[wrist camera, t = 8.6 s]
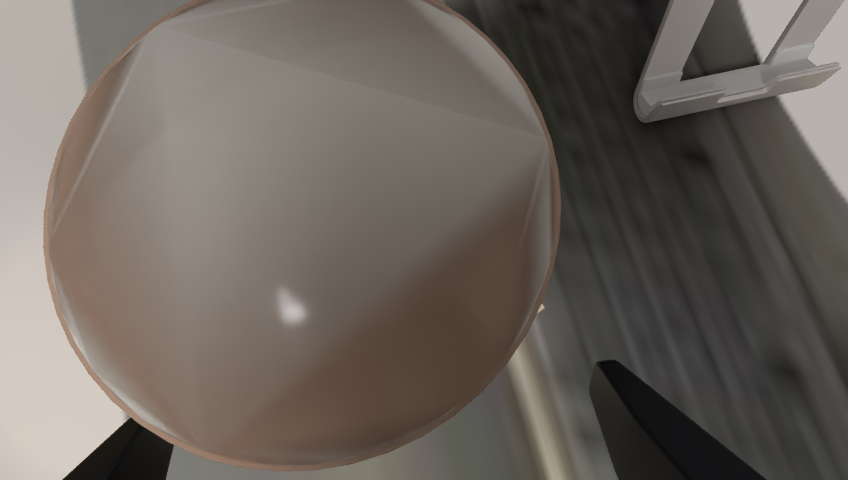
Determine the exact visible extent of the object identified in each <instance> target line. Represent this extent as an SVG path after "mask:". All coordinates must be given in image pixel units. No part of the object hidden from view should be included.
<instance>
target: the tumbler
mask: <svg viewBox="0 0 848 480" xmlns="http://www.w3.org/2000/svg"><path fill="white" fill-rule="evenodd" d="M560 218H561V195H560V183H559V171H558V167H557V162H556V158H555V153H554V149H553V144H552V140H551V137H550V134H549V132H548V129H547V126H546V124H545V121H544V118H543V116H542V113H541V110H540V109H539V107H538V105H537V103H536V101H535V99H534V97H533V95H532V93H531V92H530V90H529V88H528V86H527V84H526V83H525V81H524V80H523V78H522V77H521V76H520V74H519V73H518V71H517V70H516V69H515V67H514V66H513V64H512V63H511V62H510V60H509V59H508V58H507V57H506V56H505V55H504V53H503V52H502V51H501V50H500V49H499V48H498V47H497V46H496V45H495V44H494V43H493V42H492V41H491V39H490V38H489V37H488V36H486V35H485V34H484V33H483V32H482V31H480V30H479V29H478V28H477V27H476V26H474V25H473V24H472V23H471V22H470V21H468V20H467V19H466V18H465V17H463V16H461V15H460V14H458V13H457V12H455V11H454V10H452V9H451V8H449V7H447V6H446V5H444V4H443V3H441V2H439V1H437V0H192V1H190V2H188V3H186V4H184V5H182V6H180V7H178V8H177V9H175V10H174V11H172V12H171V13H169V14H168V15H166V16H165V17H163V18H161V19H160V20H158V21H157V22H155V23H154V24H152V25H151V26H150V27H149V28H147V29H146V30H145V31H144V32H143V33H141V34H140V35H139V36H138V37H137V38H135V39H134V40H133V41H132V42H131V43H129V44H128V45H127V46H126V47H125V48H124V49H123V50H122V51H121V52H120V53H119V55H118V56H117V57H116V58H115V59H114V60H113V61H112V62H111V63H110V64H109V65H108V66H107V67H106V68H105V70H104V71H103V72H102V74H101V75H100V76H99V77H98V79H97V80H96V81H95V83H94V84H93V85H92V87H91V88H90V89H89V91H88V92H87V93H86V95H85V97H84V99H83V100H82V102H81V104H80V106H79V107H78V109H77V111H76V112H75V114H74V116H73V118H72V119H71V121H70V123H69V125H68V128H67V130H66V133H65V135H64V137H63V140H62V142H61V144H60V147H59V149H58V152H57V156H56V158H55V162H54V166H53V169H52V172H51V176H50V179H49V184H48V190H47V198H46V204H45V210H44V245H43V248H44V256H45V264H46V271H47V279H48V284H49V288H50V291H51V295H52V299H53V302H54V306H55V310H56V312H57V315H58V318H59V320H60V322H61V325H62V327H63V329H64V331H65V334H66V336H67V338H68V341H69V343H70V345H71V347H72V348H73V350H74V351H75V353H76V355H77V356H78V358H79V359H80V361H81V362H82V364H83V366H84V367H85V369H86V370H87V372H88V374H89V375H90V376H91V377H92V378H93V379H94V381H95V382H96V383H97V384H98V385H99V386H100V388H101V389H102V390H103V391H104V392H105V393H106V395H107V396H108V397H109V398H110V399H111V400H112V401H113V402H114V403H115V404H116V405H118V406H119V407H120V408H121V409H122V410H123V411H125V412H126V413H127V414H128V415H129V416H130V417H132V418H133V419H134V420H135V421H136V422H137V423H139V424H140V425H142V426H143V427H145V428H147V429H148V430H150V431H151V432H153V433H155V434H156V435H158V436H159V437H161V438H162V439H164V440H166V441H167V442H169V443H171V444H173V445H176V446H178V447H180V448H183V449H185V450H187V451H189V452H192V453H194V454H196V455H199V456H201V457H204V458H207V459H211V460H215V461H219V462H222V463H226V464H230V465H233V466H237V467H244V468H252V469H260V470H269V471H310V470H319V469H325V468H331V467H337V466H343V465H349V464H353V463H357V462H360V461H363V460H366V459H369V458H373V457H376V456H379V455H382V454H385V453H388V452H390V451H393V450H395V449H397V448H399V447H401V446H403V445H405V444H407V443H410V442H412V441H414V440H416V439H418V438H420V437H422V436H424V435H425V434H427V433H428V432H430V431H432V430H433V429H435V428H436V427H438V426H439V425H441V424H442V423H444V422H445V421H447V420H448V419H450V418H452V417H453V416H454V415H456V414H457V413H458V412H459V411H460V410H461V409H463V408H464V407H465V406H466V405H467V404H468V403H470V402H471V401H472V400H473V399H474V398H475V397H477V396H478V395H479V394H480V393H481V392H482V391H483V390H484V389H485V388H486V387H487V386H488V385H489V383H490V382H491V381H492V380H493V379H494V378H495V377H496V375H497V374H498V373H499V372H500V371H501V370H502V369H503V368H504V366H505V365H506V364H507V363H508V361H509V360H510V358H511V357H512V355H513V354H514V352H515V351H516V349H517V348H518V346H519V345H520V343H521V342H522V340H523V339H524V337H525V336H526V334H527V333H528V331H529V329H530V326H531V324H532V322H533V320H534V318H535V316H536V314H537V312H538V310H539V308H540V306H541V304H542V302H543V299H544V296H545V293H546V290H547V287H548V284H549V281H550V278H551V275H552V272H553V268H554V263H555V258H556V253H557V247H558V242H559V237H560Z"/></svg>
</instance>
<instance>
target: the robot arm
mask: <svg viewBox="0 0 848 480" xmlns="http://www.w3.org/2000/svg"><path fill="white" fill-rule="evenodd" d="M589 392H590V397H591V400H592V403H593V406H594V409H595V412H596V415H597V418H598V421H599V424H600V427H601V430H602V434H603V437H604V440H605V443H606V446H607V449H608V452H609V455H610V458H611V461H612V463H613V466H614V469H615V472H616V474H617V477H618V479H619V480H767V479H765V478H764V477H763V476H761V475H760V474H759V473H758V472H756V471H755V470H754V469H753V468H751V467H750V466H749V465H748V464H746V463H745V462H744V461H743V460H741V459H740V458H739V457H738V456H736V455H735V454H734V453H733V452H731V451H730V450H729V449H728V448H726V447H725V446H724V445H723V444H721V443H720V442H719V441H718V440H716V439H715V438H714V437H712V436H711V435H710V434H709V433H707V432H706V431H705V430H704V429H702V428H701V427H700V426H699V425H697V424H696V423H695V422H694V421H692V420H691V419H690V418H689V417H687V416H686V415H685V414H684V413H682V412H681V411H680V410H679V409H677V408H676V407H675V406H674V405H672V404H671V403H670V402H669V401H667V400H666V399H665V398H664V397H662V396H661V395H660V394H658V393H657V392H656V391H655V390H653V389H652V388H651V387H650V386H648V385H647V384H646V383H645V382H643V381H642V380H641V379H640V378H638V377H637V376H636V375H635V374H633V373H632V372H631V371H630V370H628V369H627V368H626V367H625V366H623V365H622V364H621V363H619V362H618V361H616V360H605V361H598V362H596V363H595V364H594V367H593V371H592V376H591V381H590V386H589ZM173 446H174V445H173V444H171V443H169V442H167V441H166V440H164V439H162V438H161V437H159V436H158V435H156V434H155V433H153V432H151V431H150V430H148V429H147V428H145V427H143V426H142V425H140V424H139V423H137V422H136V421H135V420H134V419H133V418H132V417H131V418H130V419H128V420H127V421H126V422H125V423H124V424H123V425H122V426H121V427H119V428H118V430H116V431H115V432H114V433H113V434H112V435H111V436H110V437H109V438H108V439H106V440H105V441H104V442H103V443H102V444H101V445H100V446H99V447H98V448H96V450H94V451H93V452H92V453H91V454H90V455H89V456H88V457H87V458H86V459H84V460H83V461H82V462H81V463H80V464H79V465H78V466H77V467H76V468H75V469H74V470H73V471H71V472H70V473H69V474H68V475H67V476H66V477H65V478H64V479H63V480H166V476H167V472H168V468H169V463H170V459H171V455H172V451H173Z"/></svg>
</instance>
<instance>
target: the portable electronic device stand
mask: <svg viewBox="0 0 848 480" xmlns="http://www.w3.org/2000/svg"><path fill="white" fill-rule="evenodd" d="M714 1H715V0H670V1H669V4H668V6H667V9H666V12H665V14H664V17H663V19H662V22H661V25H660V27H659V30H658V32H657V35H656V38H655V40H654V43H653V45H652V48H651V51H650V53H649V56H648V58H647V61H646V64H645V66H644V69H643V71H642V74H641V77H640V79H639V82H638V84H637V87H636V90H635V92H634V97H633V107H634V112H635V114H636V116H637V118H638V119H639V120H640V121H641V122H643V123H649V122H653V121H658V120H663V119H667V118H672V117H677V116H681V115H686V114H691V113H696V112H700V111H705V110H710V109H714V108H719V107H724V106H729V105H733V104H738V103H743V102H747V101H752V100H757V99H762V98H766V97H771V96H776V95H780V94H784V93H790V92H794V91H799V90H804V89H809V88H813V87H816V86H818V85H820V84H821V83H823V82H824V81H826V80H827V79H828V78H829V77H831V76H832V75H833V74H834V73H835V72H837V71H838V70H840V68H841V67H839V66H838V65H839V63H837V62H836V63H835V62H834V63H830V64H825V65H820V66H816V65H814V64H813V63H812V62H811V61H809V60H808V59H807V57H808V55H809V54H810V52H811V51H812V49H813V48H814V44H813V43H814V42H815V40H816V39H817V38H818V36H819V35H820V34H821V32H822V31H823V29H824V28H825V27H826V25H827V24H828V22H829V21H830V20H831V18H832V17H833V16H834V14H835V13H836V11H837V10H838V8H839V7H840V6H841V4H842V3H843V2H844V0H803V2H802V3H801V5H800V7H799V8H798V10H797V11H796V13H795V15H794V16H793V17H792V19H791V21H790V22H789V24H788V25H787V27H786V28H785V30H784V32H783V33H782V35H781V36H780V38H779V40H778V41H777V42H776V44H775V46H774V47H773V49H772V50H771V52H770V53H769V55H768V57H767V58H766V60H765V61H764V62H763V63H762V64H761V65H757V66H752V67H747V68H743V69H738V70H733V71H728V72H723V73H719V74H714V75H709V76H704V77H699V78H695V79H690V80H685V81H680V79H681V77H682V75H683V72H682V69H683V67H684V65H685V63H686V60H687V58H688V56H689V54H690V52H691V50H692V48H693V46H694V43H695V41H696V39H697V37H698V35H699V33H700V31H701V29H702V26H703V24H704V22H705V20H706V18H707V16H708V14H709V12H710V9H711V7H712V5H713V3H714Z"/></svg>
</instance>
